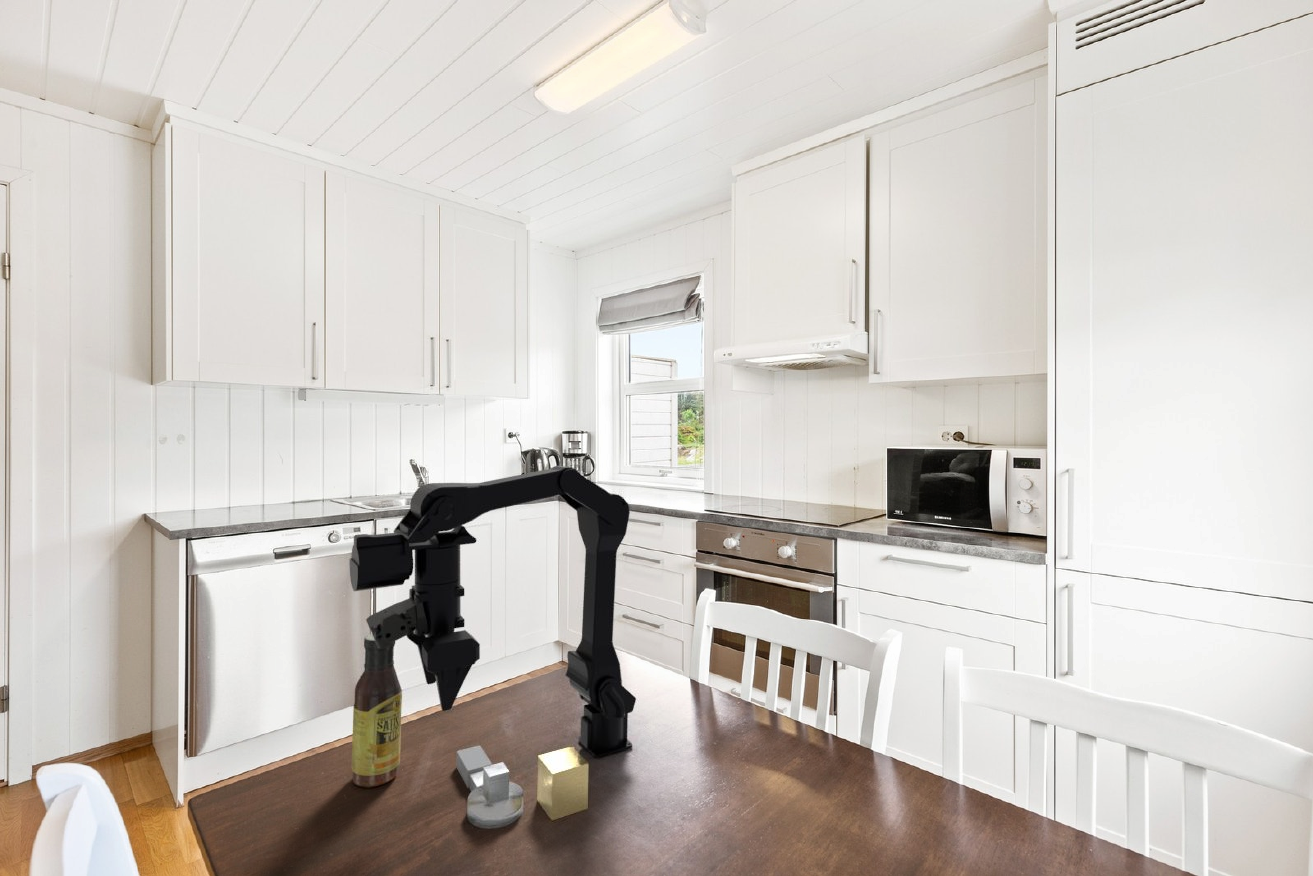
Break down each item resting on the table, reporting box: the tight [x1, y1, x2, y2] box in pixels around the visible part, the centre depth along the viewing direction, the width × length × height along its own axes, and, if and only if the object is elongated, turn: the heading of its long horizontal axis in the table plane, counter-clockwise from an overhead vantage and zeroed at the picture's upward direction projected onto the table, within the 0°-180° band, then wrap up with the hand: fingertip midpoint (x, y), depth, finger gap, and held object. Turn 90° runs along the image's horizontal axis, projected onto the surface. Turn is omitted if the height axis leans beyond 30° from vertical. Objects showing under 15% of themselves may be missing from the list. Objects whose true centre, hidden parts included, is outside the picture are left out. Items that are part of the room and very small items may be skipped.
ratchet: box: [455, 745, 524, 830], centre depth 85 cm, size 16×7×6 cm, turn 32°
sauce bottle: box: [350, 633, 403, 788], centre depth 88 cm, size 7×6×20 cm
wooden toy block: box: [536, 745, 589, 821], centre depth 83 cm, size 5×5×6 cm
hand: (438, 696), depth 83 cm, fingers open, 9 cm apart
